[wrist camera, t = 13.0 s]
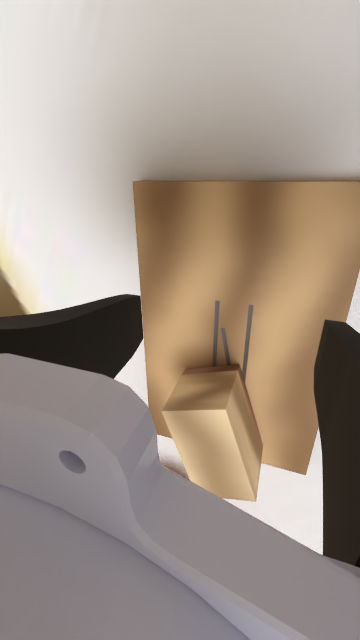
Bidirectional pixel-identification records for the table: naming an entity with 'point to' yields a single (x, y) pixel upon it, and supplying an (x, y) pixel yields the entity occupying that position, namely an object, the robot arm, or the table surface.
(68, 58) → the table surface
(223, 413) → the block
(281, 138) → the table surface
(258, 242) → the oak board
